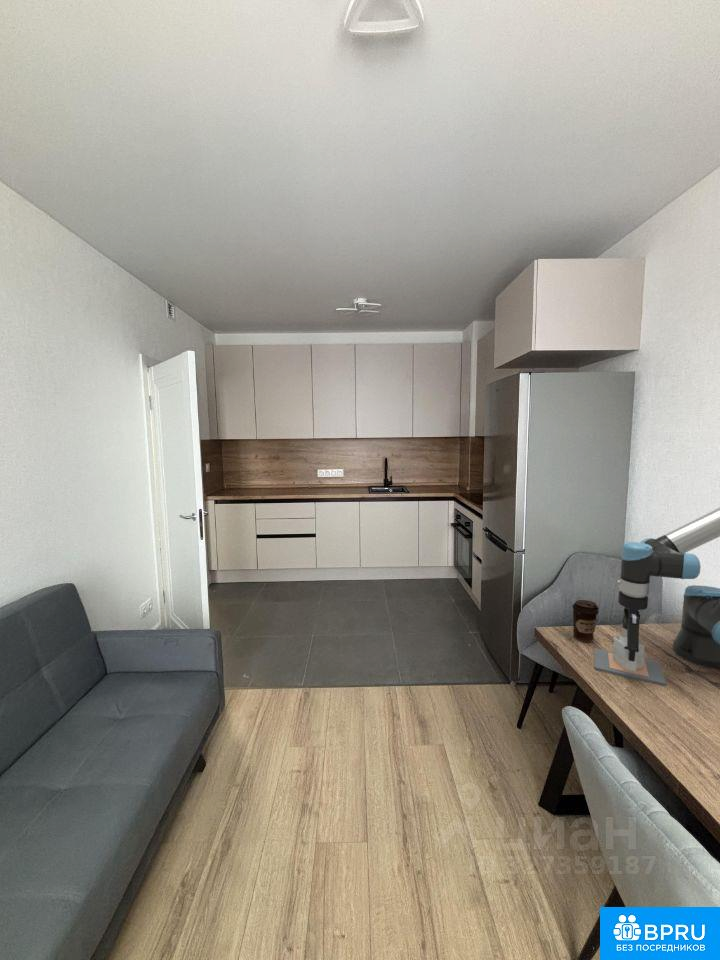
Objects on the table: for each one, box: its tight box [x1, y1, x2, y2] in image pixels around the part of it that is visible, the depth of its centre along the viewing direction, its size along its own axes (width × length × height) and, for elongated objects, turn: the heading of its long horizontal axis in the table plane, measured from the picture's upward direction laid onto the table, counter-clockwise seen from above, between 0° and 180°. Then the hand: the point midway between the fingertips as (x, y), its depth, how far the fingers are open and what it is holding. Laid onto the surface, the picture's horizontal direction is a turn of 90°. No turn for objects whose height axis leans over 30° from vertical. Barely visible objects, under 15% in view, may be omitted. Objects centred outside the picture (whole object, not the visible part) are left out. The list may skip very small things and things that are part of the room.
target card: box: [593, 647, 667, 687], centre depth 131 cm, size 18×13×1 cm
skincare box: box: [612, 636, 645, 669], centre depth 131 cm, size 6×6×7 cm
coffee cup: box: [572, 599, 600, 643], centre depth 148 cm, size 9×8×13 cm
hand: (627, 658), depth 131 cm, fingers open, 13 cm apart
